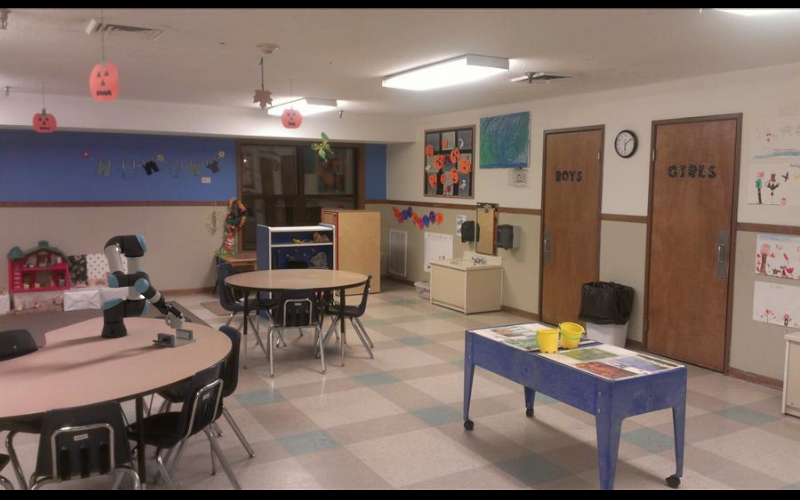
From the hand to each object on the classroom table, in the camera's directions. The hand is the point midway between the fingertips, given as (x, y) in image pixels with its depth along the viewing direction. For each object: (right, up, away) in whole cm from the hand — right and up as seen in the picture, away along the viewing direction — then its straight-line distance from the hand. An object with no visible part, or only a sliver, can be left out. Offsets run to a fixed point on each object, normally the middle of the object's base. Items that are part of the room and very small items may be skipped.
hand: (179, 320), depth 387 cm
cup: (-2, -4, -2) cm, 5 cm away
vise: (-3, -14, -3) cm, 14 cm away
